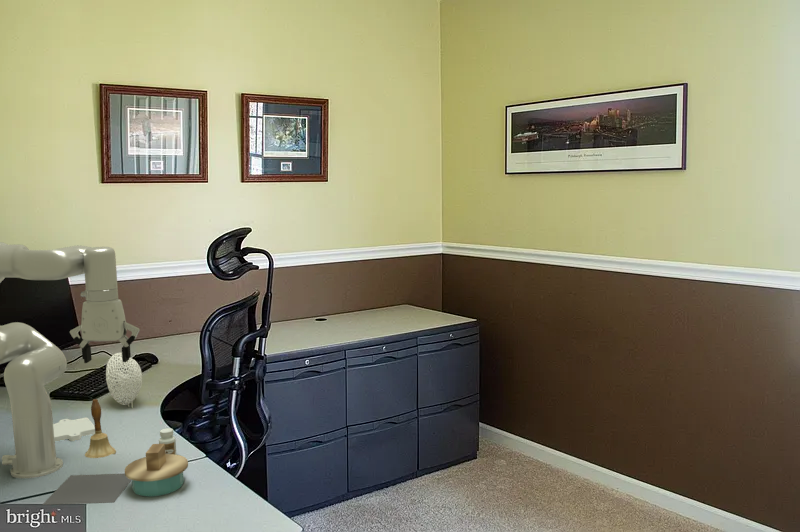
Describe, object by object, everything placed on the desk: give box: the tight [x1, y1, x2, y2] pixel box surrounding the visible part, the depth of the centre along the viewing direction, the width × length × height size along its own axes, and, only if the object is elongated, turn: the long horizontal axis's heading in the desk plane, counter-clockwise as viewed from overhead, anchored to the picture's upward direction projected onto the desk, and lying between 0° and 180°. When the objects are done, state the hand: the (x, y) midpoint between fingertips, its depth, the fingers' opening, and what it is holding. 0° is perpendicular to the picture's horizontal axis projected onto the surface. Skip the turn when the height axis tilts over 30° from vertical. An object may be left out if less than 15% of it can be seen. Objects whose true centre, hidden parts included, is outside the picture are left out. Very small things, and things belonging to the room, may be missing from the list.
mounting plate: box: [53, 416, 95, 442], centre depth 229 cm, size 18×13×2 cm
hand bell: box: [84, 398, 117, 459], centre depth 210 cm, size 8×8×16 cm
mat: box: [41, 473, 132, 506], centre depth 187 cm, size 17×17×1 cm
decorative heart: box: [105, 352, 143, 409], centre depth 253 cm, size 18×11×17 cm, turn 35°
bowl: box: [131, 471, 185, 497], centre depth 187 cm, size 12×12×5 cm
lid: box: [124, 443, 189, 481], centre depth 187 cm, size 15×15×5 cm
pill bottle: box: [158, 427, 177, 455], centre depth 207 cm, size 4×4×8 cm
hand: (107, 361), depth 193 cm, fingers open, 9 cm apart
